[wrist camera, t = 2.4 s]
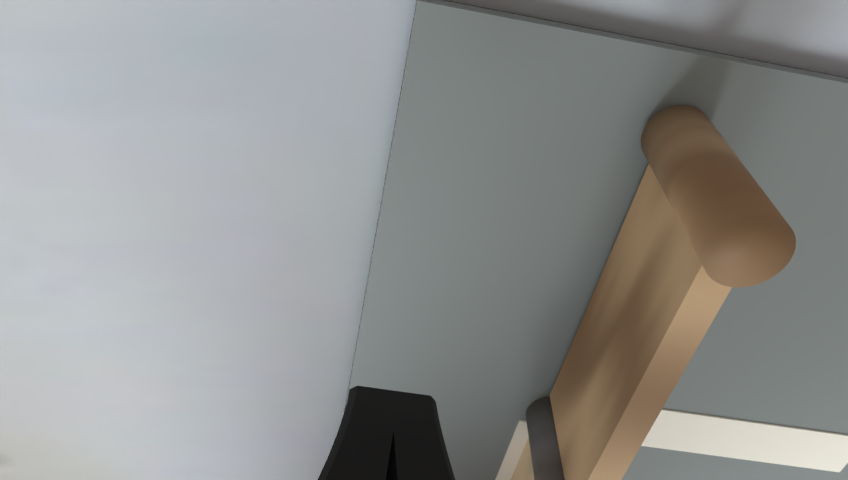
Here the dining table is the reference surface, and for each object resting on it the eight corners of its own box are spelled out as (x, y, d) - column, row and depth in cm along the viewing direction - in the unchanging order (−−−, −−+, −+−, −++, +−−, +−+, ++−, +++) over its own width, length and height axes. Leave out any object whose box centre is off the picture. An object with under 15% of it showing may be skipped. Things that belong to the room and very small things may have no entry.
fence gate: (586, 398, 21) (618, 536, 17) (536, 391, 21) (558, 528, 17) (722, 111, 16) (813, 223, 12) (656, 99, 16) (726, 208, 12)
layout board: (808, 603, 29) (813, 614, 29) (320, 548, 27) (318, 558, 27) (1258, 157, 17) (1276, 166, 16) (417, -5, 15) (417, 1, 14)
